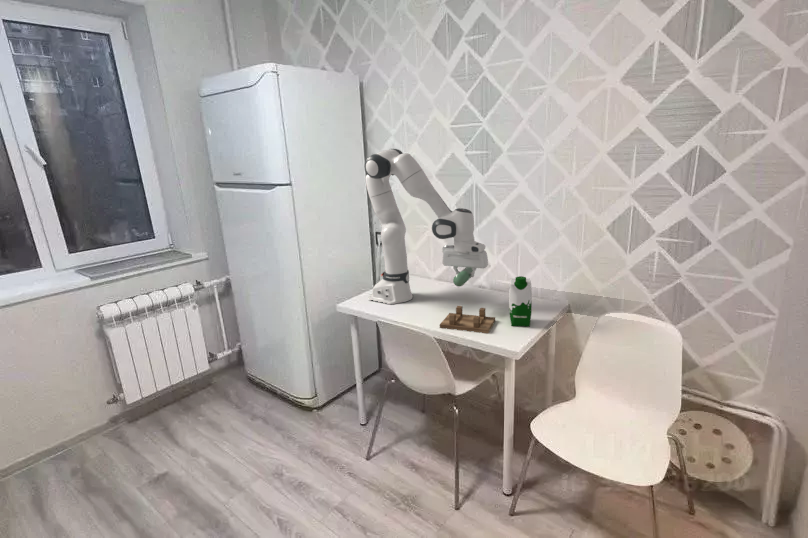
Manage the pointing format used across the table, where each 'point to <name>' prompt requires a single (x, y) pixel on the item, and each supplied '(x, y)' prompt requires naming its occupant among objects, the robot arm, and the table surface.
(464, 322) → the cradle
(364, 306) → the table surface
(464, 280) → the bottle
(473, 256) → the robot arm
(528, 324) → the milk carton
